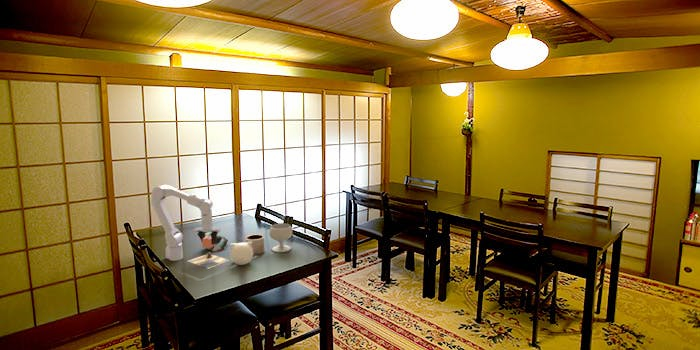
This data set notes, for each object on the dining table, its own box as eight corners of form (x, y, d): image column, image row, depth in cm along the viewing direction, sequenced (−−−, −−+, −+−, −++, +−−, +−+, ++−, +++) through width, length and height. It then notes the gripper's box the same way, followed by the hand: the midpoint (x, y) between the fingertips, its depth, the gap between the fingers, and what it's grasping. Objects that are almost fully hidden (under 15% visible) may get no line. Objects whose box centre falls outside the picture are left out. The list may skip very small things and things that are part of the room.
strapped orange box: (206, 244, 220) (205, 235, 219) (214, 244, 220) (214, 236, 219) (202, 247, 215) (201, 238, 214) (211, 247, 215) (210, 238, 214)
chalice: (265, 251, 232) (264, 227, 230) (279, 244, 244) (278, 221, 242) (283, 255, 226) (282, 230, 223) (297, 247, 238) (296, 224, 235)
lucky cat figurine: (224, 253, 228) (211, 236, 222) (207, 260, 230) (193, 243, 225) (231, 238, 241) (219, 221, 236) (215, 245, 244) (202, 228, 238)
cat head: (227, 270, 204) (226, 248, 202) (228, 261, 216) (227, 240, 214) (256, 267, 208) (255, 245, 206) (255, 258, 221) (254, 238, 219)
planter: (242, 253, 229) (241, 237, 228) (256, 247, 238) (255, 233, 236) (254, 256, 223) (254, 241, 222) (268, 251, 232) (267, 236, 231)
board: (187, 263, 214) (186, 256, 213) (208, 255, 225) (208, 249, 225) (208, 270, 204) (208, 264, 203) (229, 262, 215) (229, 255, 214)
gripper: (191, 222, 211) (192, 246, 214) (216, 223, 211) (218, 246, 213) (196, 219, 218) (198, 242, 221) (221, 219, 218) (223, 242, 220)
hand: (208, 244), depth 217 cm, fingers closed on strapped orange box, 5 cm apart
